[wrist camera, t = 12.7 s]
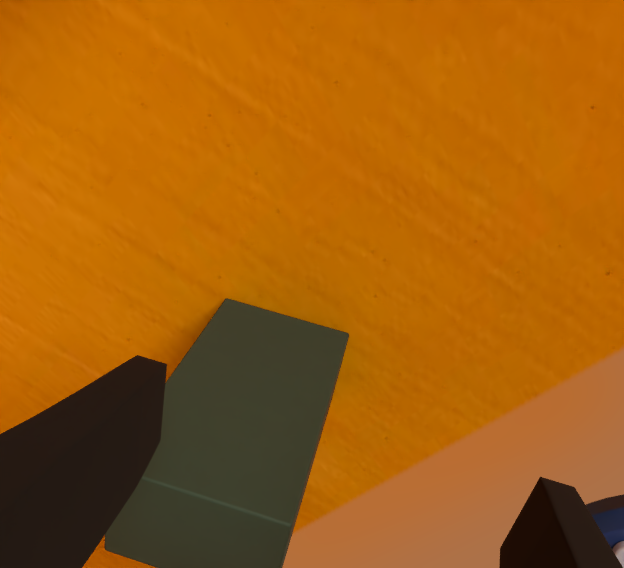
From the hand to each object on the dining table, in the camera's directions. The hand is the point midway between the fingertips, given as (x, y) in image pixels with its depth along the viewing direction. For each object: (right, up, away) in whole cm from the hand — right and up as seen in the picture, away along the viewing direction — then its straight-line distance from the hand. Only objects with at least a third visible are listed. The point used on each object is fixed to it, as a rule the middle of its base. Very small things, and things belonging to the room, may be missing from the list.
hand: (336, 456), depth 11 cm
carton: (-2, 0, +7) cm, 8 cm away
